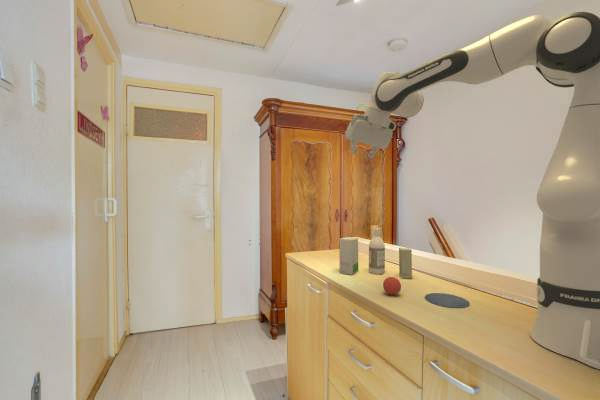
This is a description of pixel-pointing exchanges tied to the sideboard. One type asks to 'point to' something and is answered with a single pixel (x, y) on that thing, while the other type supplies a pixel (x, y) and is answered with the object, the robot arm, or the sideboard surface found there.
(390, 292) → the ball
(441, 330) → the sideboard surface
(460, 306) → the dark gray round plate
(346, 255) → the skincare box
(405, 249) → the skincare box
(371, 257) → the bath foam
